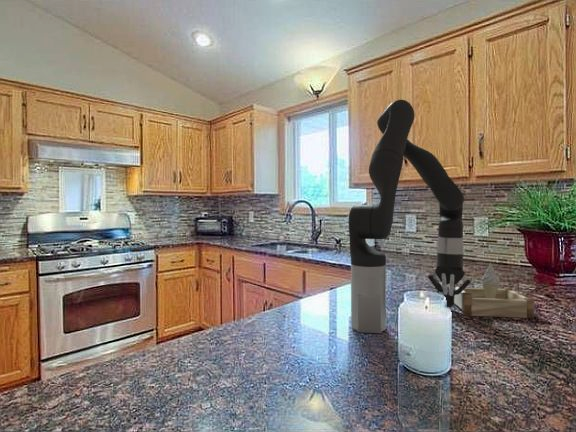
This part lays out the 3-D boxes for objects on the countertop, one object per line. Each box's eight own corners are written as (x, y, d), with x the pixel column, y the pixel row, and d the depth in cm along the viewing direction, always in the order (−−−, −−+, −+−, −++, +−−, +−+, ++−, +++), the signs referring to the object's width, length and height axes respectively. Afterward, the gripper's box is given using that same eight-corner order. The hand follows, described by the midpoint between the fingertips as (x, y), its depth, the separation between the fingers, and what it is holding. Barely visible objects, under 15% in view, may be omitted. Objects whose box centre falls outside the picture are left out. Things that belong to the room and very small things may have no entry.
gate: (452, 302, 120) (452, 285, 119) (458, 302, 119) (458, 286, 119) (462, 311, 109) (462, 293, 109) (469, 311, 109) (469, 293, 109)
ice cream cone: (481, 310, 112) (481, 262, 111) (481, 306, 116) (481, 260, 116) (500, 312, 109) (500, 263, 109) (499, 308, 114) (499, 261, 114)
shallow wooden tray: (535, 318, 103) (536, 296, 103) (464, 315, 106) (464, 294, 106) (510, 303, 119) (510, 284, 119) (448, 301, 123) (448, 282, 122)
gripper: (475, 252, 111) (474, 307, 111) (431, 248, 119) (430, 300, 119) (471, 254, 105) (469, 313, 105) (424, 251, 113) (423, 305, 113)
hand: (448, 306), depth 112 cm, fingers closed
